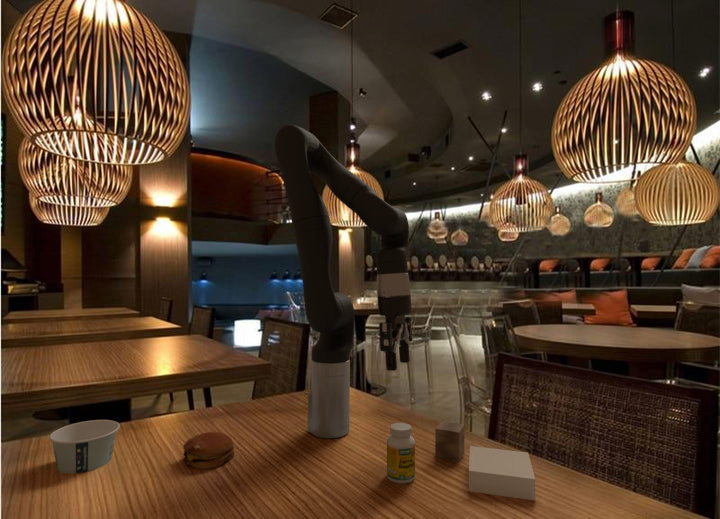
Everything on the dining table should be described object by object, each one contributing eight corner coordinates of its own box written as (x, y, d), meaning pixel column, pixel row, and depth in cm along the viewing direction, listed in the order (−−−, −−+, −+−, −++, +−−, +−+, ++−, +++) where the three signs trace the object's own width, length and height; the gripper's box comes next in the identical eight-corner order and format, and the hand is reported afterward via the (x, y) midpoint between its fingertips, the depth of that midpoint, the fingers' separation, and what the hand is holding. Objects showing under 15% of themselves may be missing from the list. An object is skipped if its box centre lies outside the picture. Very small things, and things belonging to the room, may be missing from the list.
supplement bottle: (402, 468, 85) (403, 419, 85) (421, 479, 81) (421, 427, 81) (380, 475, 82) (381, 424, 82) (398, 487, 78) (398, 433, 78)
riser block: (468, 493, 77) (468, 470, 77) (469, 465, 87) (470, 445, 87) (535, 502, 74) (535, 479, 74) (528, 473, 84) (528, 452, 85)
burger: (237, 449, 94) (237, 427, 94) (228, 469, 85) (228, 445, 85) (190, 450, 93) (190, 428, 93) (176, 471, 84) (176, 447, 84)
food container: (124, 465, 86) (124, 432, 86) (49, 483, 78) (50, 447, 78) (114, 445, 95) (115, 415, 95) (47, 460, 88) (47, 427, 88)
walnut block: (435, 457, 90) (435, 428, 91) (441, 448, 95) (441, 420, 95) (459, 462, 88) (459, 432, 88) (464, 452, 93) (464, 424, 93)
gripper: (389, 293, 106) (394, 359, 105) (365, 296, 93) (370, 372, 92) (419, 291, 103) (423, 360, 102) (398, 294, 90) (403, 373, 89)
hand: (398, 366), depth 97 cm, fingers open, 8 cm apart
